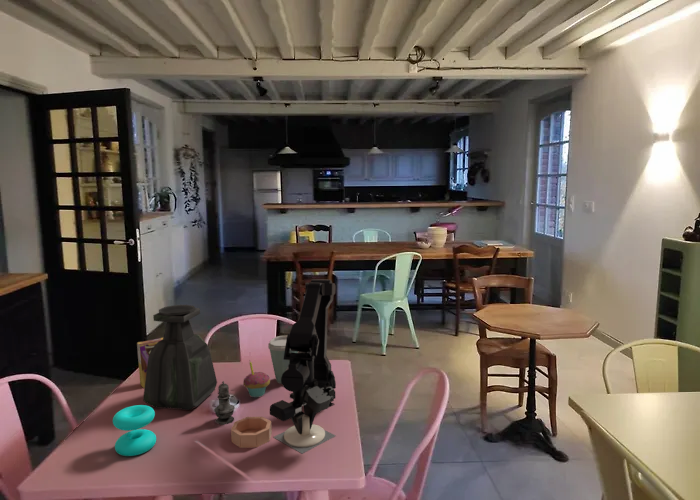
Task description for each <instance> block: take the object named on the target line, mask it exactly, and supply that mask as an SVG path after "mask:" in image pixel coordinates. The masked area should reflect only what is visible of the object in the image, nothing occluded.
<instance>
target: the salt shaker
mask: <svg viewBox="0 0 700 500" xmlns="http://www.w3.org/2000/svg"><path fill="white" fill-rule="evenodd" d="M217 387H218V395H217V399H218V405H217V406H216V407H214V409H213V412H215V413H214V414H215V416H216V420H215V423H216V424H217V425H220V426H221V425H222V426H225V425H228V424H232V423H234V422H235V417H234V416H233V414H234V413H235V409H236V407H235V405H234V404H232V403H231V402H230V397H231V394H230V390H229V388H230V387H229V385H228V383H225V381H224V380H223V381H222V382H221V384H219V385H218V386H217Z"/></svg>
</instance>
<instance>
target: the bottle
mask: <svg viewBox="0 0 700 500" xmlns="http://www.w3.org/2000/svg"><path fill="white" fill-rule="evenodd" d="M200 314H201V309H200V307H196V306H195V305H189V304H174V305H169V306H164V307H162V308H159V309H158V312H157V313H155V314H153V322H162V323H166V324H165V329H164V332H163V337H162V338H163V340H161V341H159V342H158V343H157V344H156V345H155V346H154V347H153V349H152V350H151V352H150V355H149V358H148V365H147V373H146V380H145V388H143V389H144V390H143V398H142V401H143V402H144V403H146V404H148V405H149V406H150V407H151V406H152V408H157V409H158V408H159V409H170V410H171V409H173V410H184V411H185V410H186V411H191V410H193V409H195V408H197V407H198V406H199V405H200V404H202V403H203V402H204V401H205V400H206V399H207V398H208V397H209V396H211V394H212V393H214V391H215V390H216V387H217V384H218V379H217V376H216V372H215V367H214V363H213V360H212V359H213V358H212V356H211V351H210V347H209V345H208V343H206V341H205V340H203V338H202V337H201V336H200V334H195V332H194V329H193V328H192V325H191V323H190V320H191V319H193V318H195V317H196V316H199V315H200Z"/></svg>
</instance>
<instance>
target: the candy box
mask: <svg viewBox="0 0 700 500" xmlns="http://www.w3.org/2000/svg"><path fill="white" fill-rule="evenodd" d="M161 340H163V337H159V338H155V339H154V338H153V339H148V340H145V341H138V342H136V347H137V348H136V349H137V359H138V361H137V362H138V373H139V384H140V386H141V387H142V388H143V389H144V388H145V380H146V373H147V365H148V358H149V355H150V352H151V350H152V349H153V347H154V346H155V345H156V344H157V343H158V342H159V341H161Z"/></svg>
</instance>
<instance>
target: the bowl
mask: <svg viewBox="0 0 700 500" xmlns="http://www.w3.org/2000/svg"><path fill="white" fill-rule="evenodd" d="M272 429H273V428H272V421H271V420H270V419H268V418H266V417H264V416H245V417H244V418H241V419H239V420H236V421H233V425H232V427H231V429H230V431H231V432H230V433H231V435H230V437H231V443H232V444H234V445H235V446H237V447H238V448H240V449H247V448H248V449H251V448H258V447H259V448H260V447H261V446H263V445H265V444H267V443H269V442H270V441H271V437H272Z"/></svg>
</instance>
